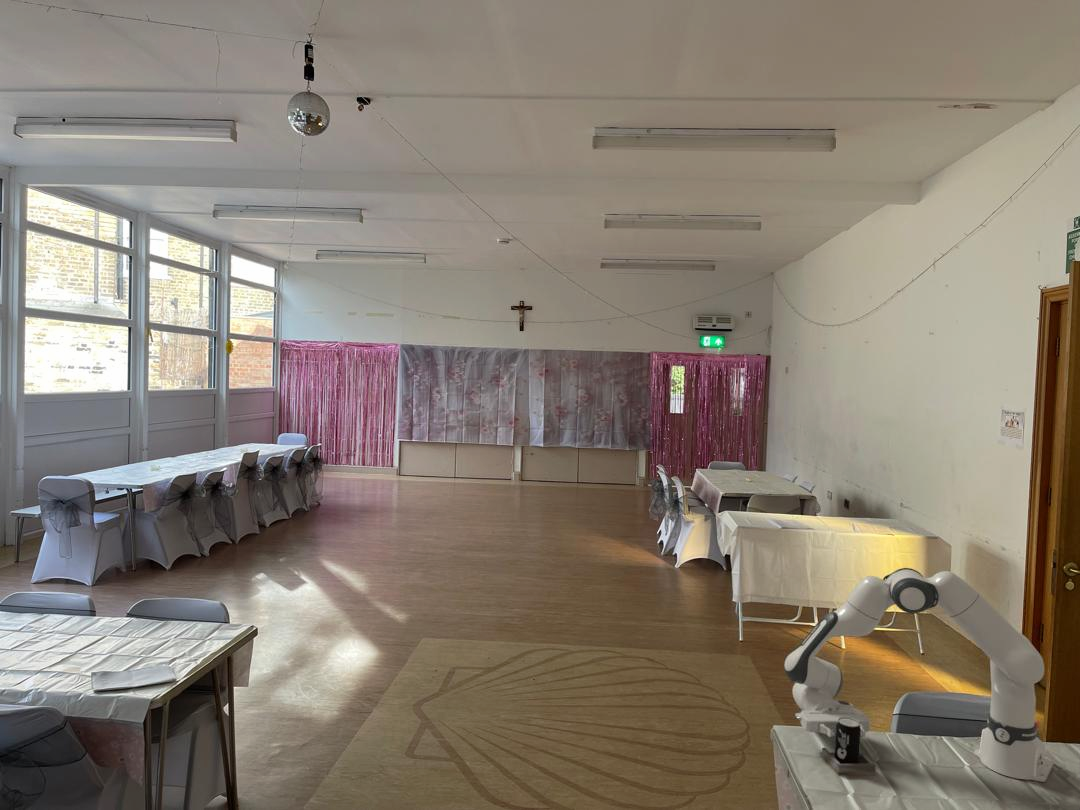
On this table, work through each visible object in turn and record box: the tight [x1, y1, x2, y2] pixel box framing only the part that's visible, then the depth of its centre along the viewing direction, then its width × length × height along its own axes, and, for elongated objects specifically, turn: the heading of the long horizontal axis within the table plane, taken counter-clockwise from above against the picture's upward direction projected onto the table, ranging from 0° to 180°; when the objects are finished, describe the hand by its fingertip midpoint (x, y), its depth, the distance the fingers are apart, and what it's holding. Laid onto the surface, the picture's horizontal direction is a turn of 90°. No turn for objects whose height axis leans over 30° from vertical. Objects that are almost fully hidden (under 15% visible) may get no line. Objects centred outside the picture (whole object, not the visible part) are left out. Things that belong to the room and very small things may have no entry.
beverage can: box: [834, 717, 861, 764], centre depth 213 cm, size 7×7×12 cm
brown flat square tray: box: [819, 747, 876, 776], centre depth 213 cm, size 11×11×3 cm
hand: (847, 734), depth 213 cm, fingers open, 8 cm apart
